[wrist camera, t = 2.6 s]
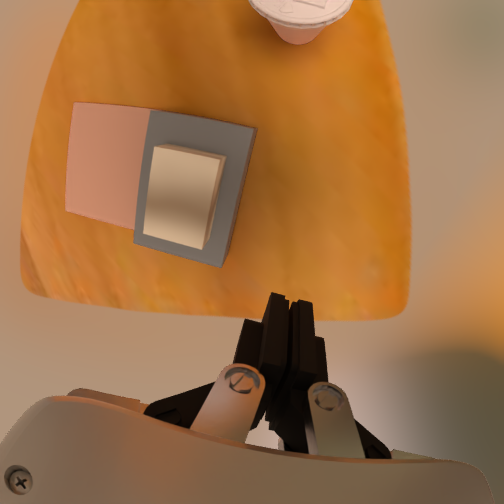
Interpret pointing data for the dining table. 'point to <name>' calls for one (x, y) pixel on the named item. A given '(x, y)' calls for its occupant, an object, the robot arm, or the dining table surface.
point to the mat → (105, 161)
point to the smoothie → (300, 16)
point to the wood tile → (183, 194)
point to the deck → (238, 156)
